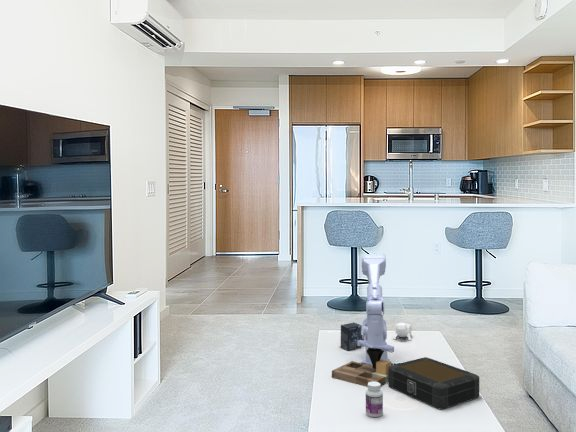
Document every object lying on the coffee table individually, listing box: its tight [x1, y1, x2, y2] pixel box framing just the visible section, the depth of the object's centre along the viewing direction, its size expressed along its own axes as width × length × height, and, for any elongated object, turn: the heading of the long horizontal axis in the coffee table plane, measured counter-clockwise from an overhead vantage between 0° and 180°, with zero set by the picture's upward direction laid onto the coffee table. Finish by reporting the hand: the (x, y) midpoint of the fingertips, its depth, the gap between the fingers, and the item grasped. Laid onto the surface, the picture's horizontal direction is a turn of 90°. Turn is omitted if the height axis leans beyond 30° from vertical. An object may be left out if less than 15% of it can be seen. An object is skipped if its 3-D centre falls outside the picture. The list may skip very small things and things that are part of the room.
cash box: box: [387, 356, 480, 410], centre depth 179 cm, size 25×20×8 cm
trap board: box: [331, 360, 388, 388], centre depth 194 cm, size 14×19×2 cm
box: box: [340, 321, 363, 352], centre depth 230 cm, size 8×6×11 cm
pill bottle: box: [365, 382, 384, 418], centre depth 162 cm, size 5×5×10 cm
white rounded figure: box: [392, 322, 413, 341], centre depth 244 cm, size 9×8×15 cm
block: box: [376, 360, 392, 375], centre depth 192 cm, size 4×4×4 cm
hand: (375, 367), depth 194 cm, fingers closed
